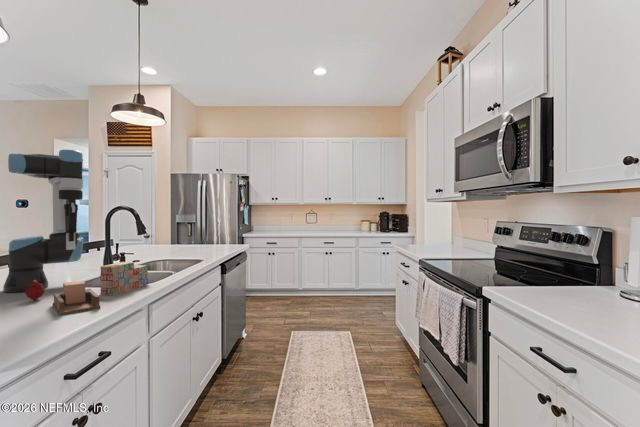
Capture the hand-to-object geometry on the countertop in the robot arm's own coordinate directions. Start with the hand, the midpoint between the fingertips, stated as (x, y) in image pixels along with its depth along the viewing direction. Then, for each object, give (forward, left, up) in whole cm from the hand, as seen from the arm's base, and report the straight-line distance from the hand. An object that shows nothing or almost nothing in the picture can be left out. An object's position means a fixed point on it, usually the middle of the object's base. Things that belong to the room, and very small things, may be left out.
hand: (70, 249), depth 131 cm
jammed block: (+8, 0, -19) cm, 21 cm away
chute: (+12, 0, -20) cm, 24 cm away
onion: (-10, -10, -21) cm, 25 cm away
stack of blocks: (-7, +21, -21) cm, 30 cm away
